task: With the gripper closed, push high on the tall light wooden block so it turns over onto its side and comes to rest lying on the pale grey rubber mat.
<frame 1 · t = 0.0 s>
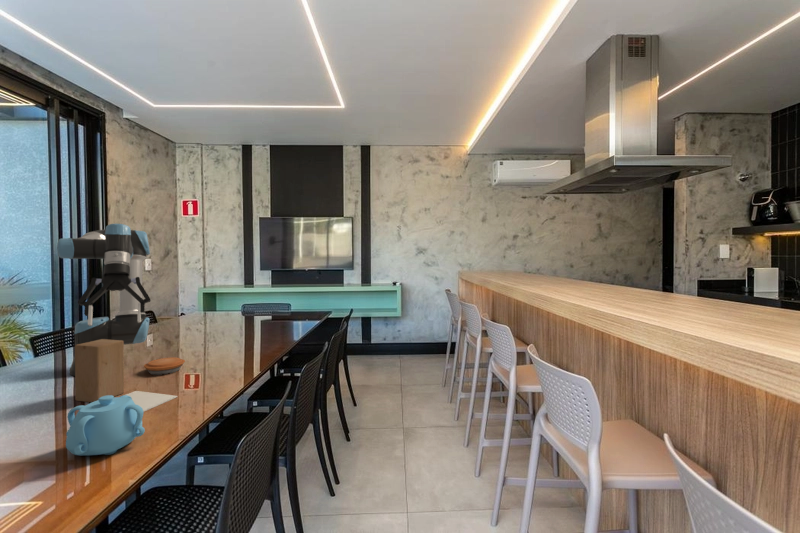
hand: (115, 323, 128), 28 cm above the table, tool tilted 20°, fingers open, 13 cm apart
pie: (165, 371, 165), on the table
decorative pot: (106, 447, 100), on the table
wooden block: (100, 397, 134), on the table
mat: (137, 402, 130), on the table
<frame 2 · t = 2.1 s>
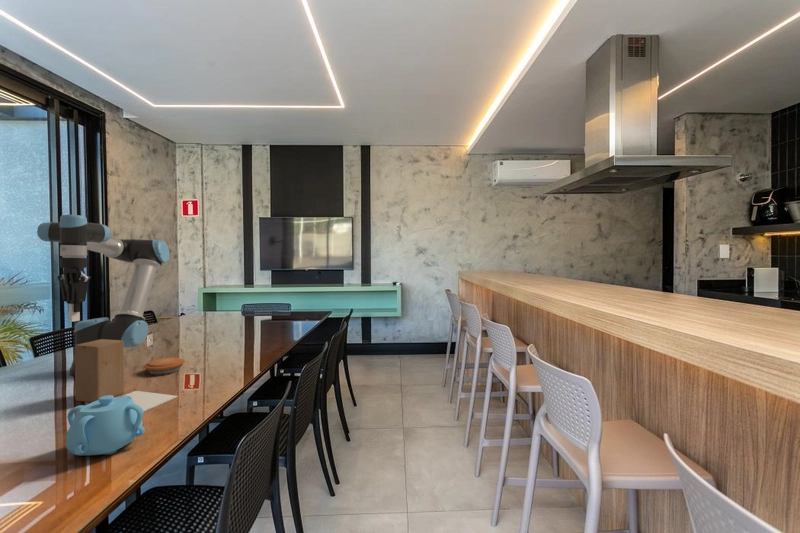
hand: (74, 320, 136), 27 cm above the table, tool pointing down, fingers closed
nothing on the table moved.
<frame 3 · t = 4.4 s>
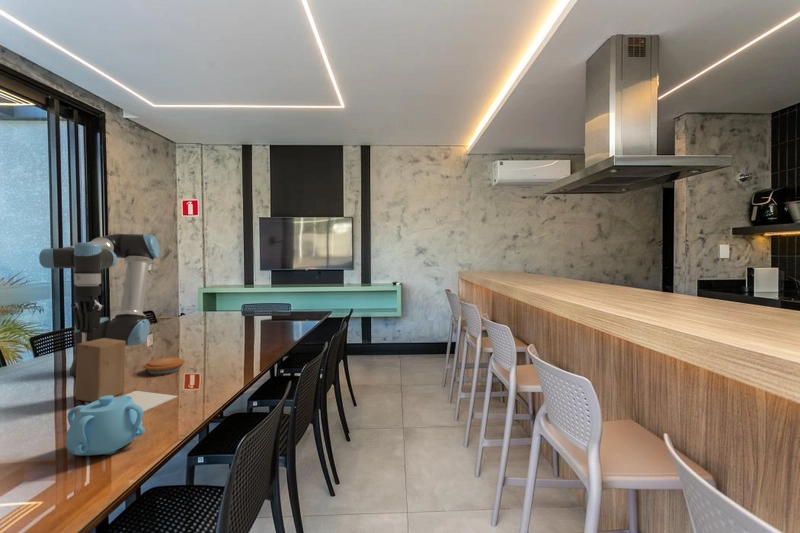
hand: (87, 349, 134), 17 cm above the table, tool pointing down, fingers closed
wooden block: (100, 396, 134), on the table, touching gripper
everything else where it was.
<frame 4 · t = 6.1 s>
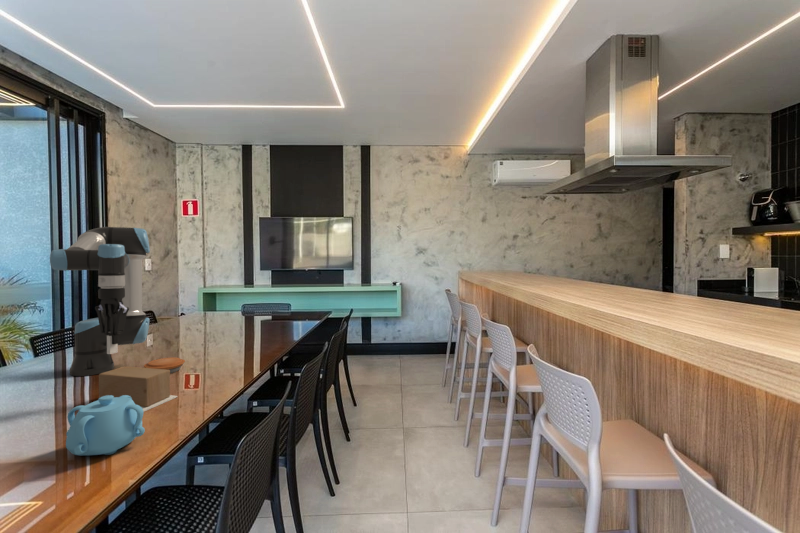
hand: (112, 353, 132), 17 cm above the table, tool pointing down, fingers closed
wooden block: (111, 383, 133), point 5 cm above the table, touching mat
everything else where it was.
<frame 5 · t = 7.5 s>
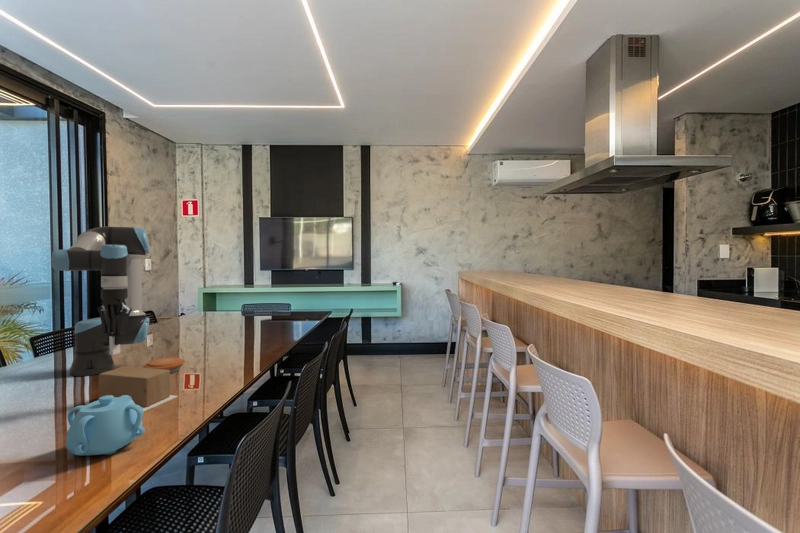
hand: (115, 353, 132), 16 cm above the table, tool pointing down, fingers closed
nothing on the table moved.
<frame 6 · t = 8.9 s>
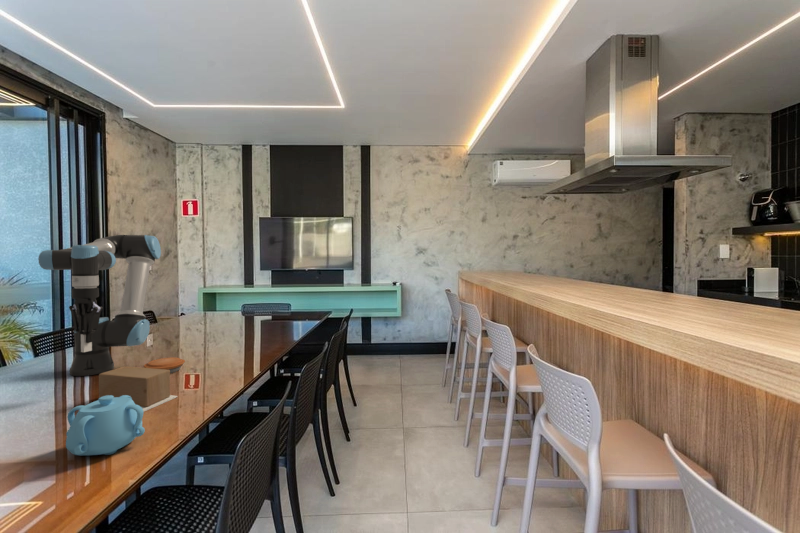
hand: (86, 351, 135), 16 cm above the table, tool pointing down, fingers closed
nothing on the table moved.
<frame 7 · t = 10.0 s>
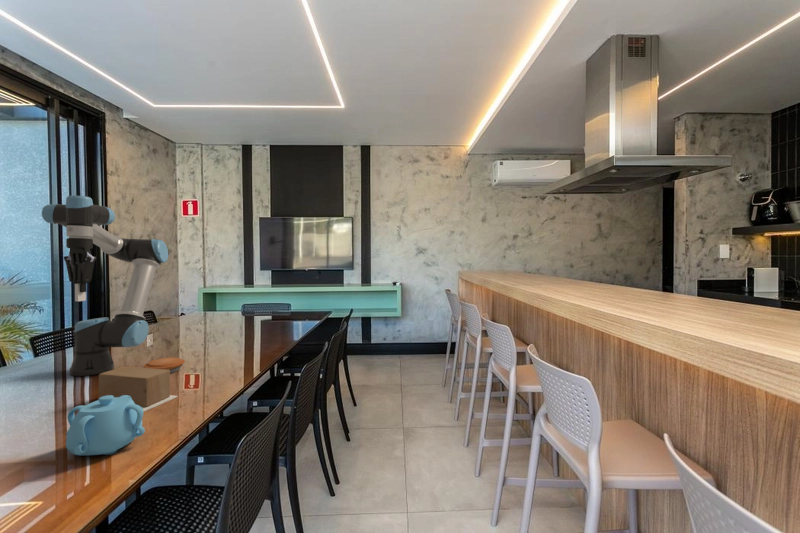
hand: (80, 300, 138), 34 cm above the table, tool pointing down, fingers closed
nothing on the table moved.
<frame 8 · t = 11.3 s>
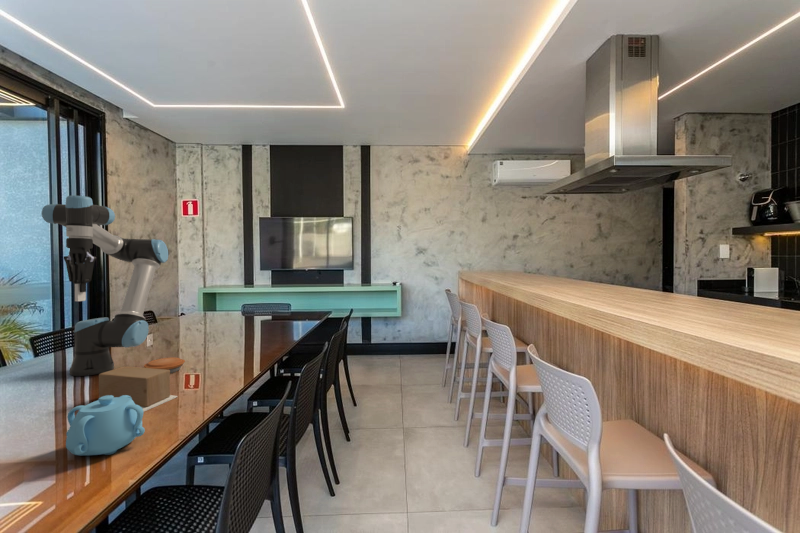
hand: (80, 300, 138), 34 cm above the table, tool pointing down, fingers closed
nothing on the table moved.
at the end: wooden block tilted 90°; wooden block 12.1 cm from the mat (horizontally); wooden block touching mat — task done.
